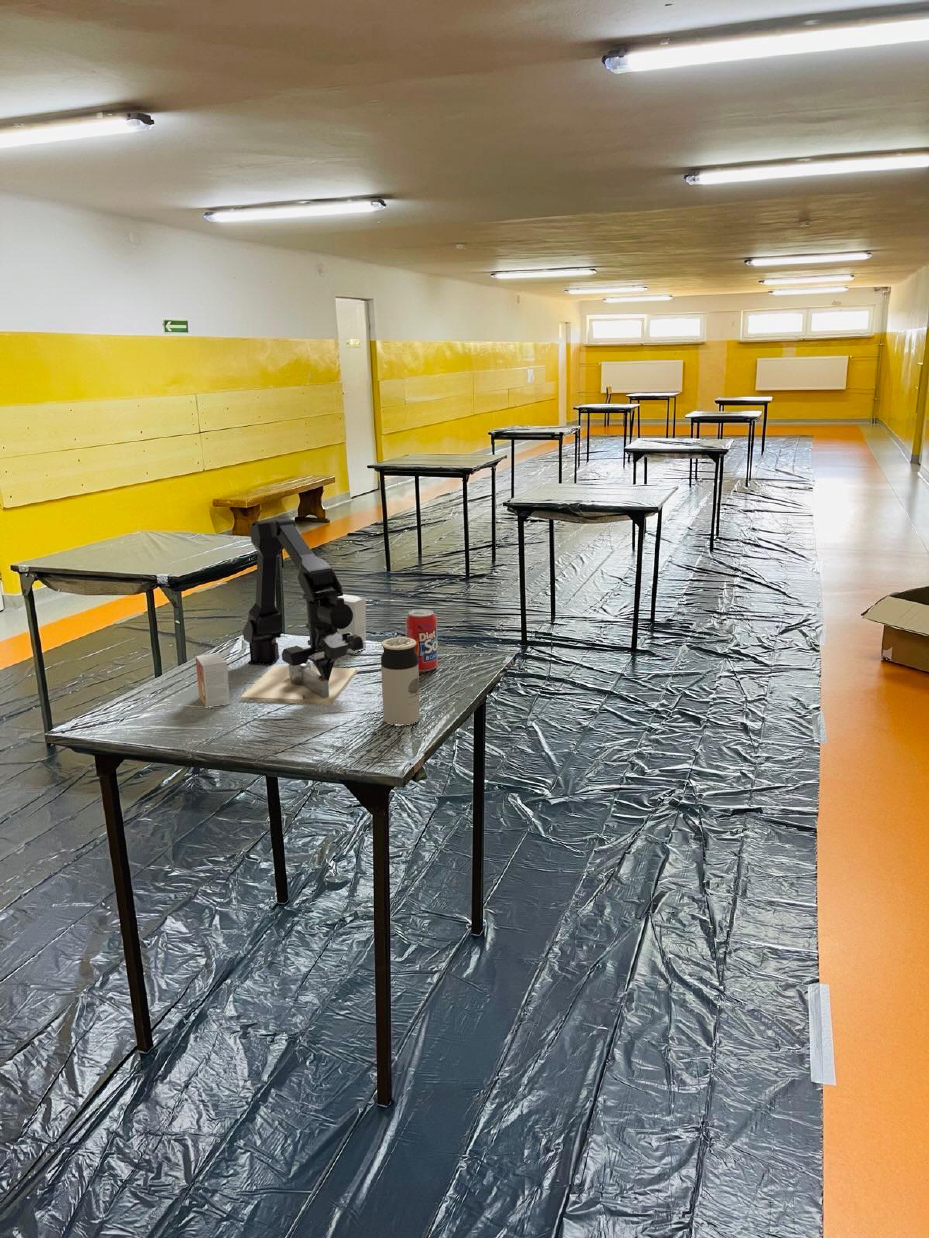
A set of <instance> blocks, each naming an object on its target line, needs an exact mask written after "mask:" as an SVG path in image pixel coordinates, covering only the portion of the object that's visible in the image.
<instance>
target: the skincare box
mask: <svg viewBox="0 0 929 1238" xmlns="http://www.w3.org/2000/svg"><path fill="white" fill-rule="evenodd" d="M339 598H344V604H346V605H348V606H349V607H350V608H351V610H352V612H353V619H352V621H351V623H350V625H349V626H347V627H346V628H344V629H337V631H338V633H339V634H342V633H343V634H344V633H348V632H351V633H353V634H355V635H357V636H360V637H361V638H362V639H363V641H366V642H363V643H364V648H363V649H364V650H366V649H367V609H366V608H367V599H366V597H362V596H356V595H351V594H350V595H349V594H345V593H343V596H339ZM365 648H366V649H365ZM359 650H362V649H359ZM359 650H355V651H353V650H351V649H347V654H353V655H355V653H356V654H358V653H359V652H358V651H359ZM362 651H363V650H362ZM357 652H358V653H357Z"/></svg>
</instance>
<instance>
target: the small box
mask: <svg viewBox="0 0 929 1238" xmlns="http://www.w3.org/2000/svg"><path fill="white" fill-rule="evenodd" d="M195 665H196V677H197V686H198V687H197V688H198V696H199V697H200V698H201V699H200V698H199V699H200V700H201V702H202V701H203V702H202V703H203V705H204V704H205V705H204V707H205V706H206V707H209V706H215V705H223V704H227V703H230V704H231V701H230V700H231V698H230V697H231V696H230V689H229V687H230V685H229V674H228V664H227V661H225V659H224V658H223V657H222V656H221V653H220V652H215V653H209V654H208V653H207V654H203V655H196V656H195ZM206 707H205V708H206Z"/></svg>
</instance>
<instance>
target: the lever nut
mask: <svg viewBox="0 0 929 1238" xmlns="http://www.w3.org/2000/svg"><path fill="white" fill-rule="evenodd" d="M288 666H289V676H290V680H291V683H292V684H296V685H304V686H305V687H307V688H308V689H310V690H311V691H313V692H314V693H316V694H318V695H319V696H321V697H322V698H325V697H329V686H328V680H327V679H325V678H324V677H322V676H320V675H319V674H317V673H315V672H314V671H312V670H311V667H312V666H311V662H310V660H308V661H307V662H306V663H305V664H301V665H297V666H292V665H290V664H288Z"/></svg>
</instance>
